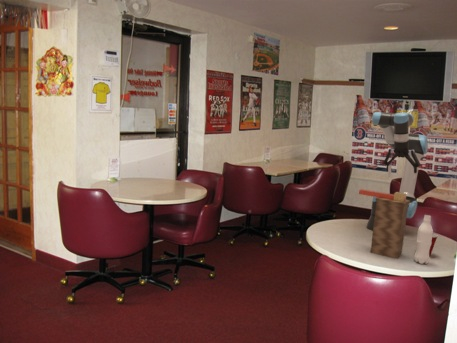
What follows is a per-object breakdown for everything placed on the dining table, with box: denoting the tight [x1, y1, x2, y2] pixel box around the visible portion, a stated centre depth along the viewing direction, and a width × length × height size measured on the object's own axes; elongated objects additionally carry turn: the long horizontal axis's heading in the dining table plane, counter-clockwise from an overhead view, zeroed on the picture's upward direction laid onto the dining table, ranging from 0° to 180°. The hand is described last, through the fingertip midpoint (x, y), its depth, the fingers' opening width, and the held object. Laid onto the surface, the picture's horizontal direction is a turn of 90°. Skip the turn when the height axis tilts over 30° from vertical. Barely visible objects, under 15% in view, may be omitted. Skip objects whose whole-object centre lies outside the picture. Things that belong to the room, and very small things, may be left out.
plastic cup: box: [416, 231, 439, 257], centre depth 250 cm, size 11×11×12 cm
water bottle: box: [414, 214, 434, 265], centre depth 235 cm, size 7×7×25 cm
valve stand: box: [370, 197, 410, 259], centre depth 246 cm, size 15×11×30 cm
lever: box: [358, 188, 407, 202], centre depth 247 cm, size 24×5×4 cm, turn 56°
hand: (401, 177), depth 261 cm, fingers open, 13 cm apart
